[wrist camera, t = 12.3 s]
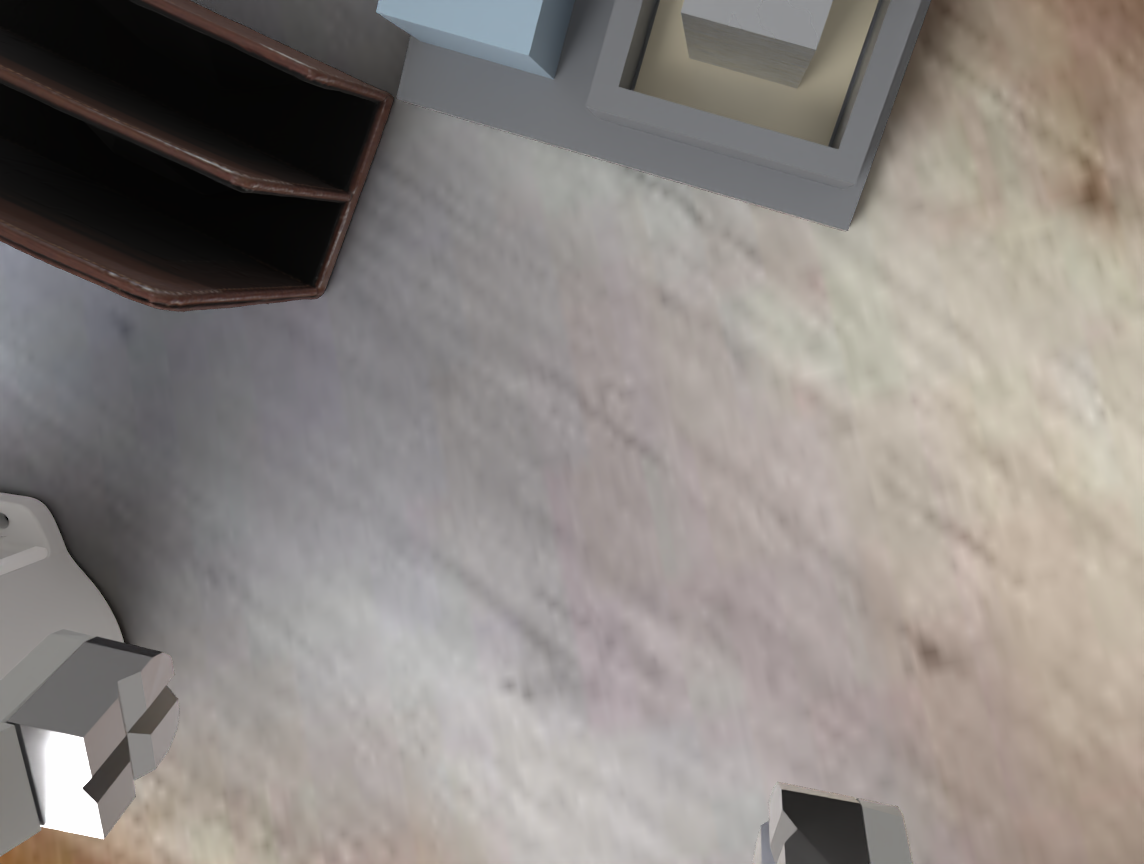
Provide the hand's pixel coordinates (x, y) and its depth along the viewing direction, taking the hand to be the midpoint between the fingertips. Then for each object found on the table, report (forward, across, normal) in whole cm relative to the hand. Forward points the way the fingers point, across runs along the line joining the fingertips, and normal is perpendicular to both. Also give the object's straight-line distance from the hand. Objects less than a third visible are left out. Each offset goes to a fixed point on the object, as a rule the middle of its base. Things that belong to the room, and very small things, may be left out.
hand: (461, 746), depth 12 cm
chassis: (+33, +1, -8) cm, 34 cm away
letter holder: (+32, +23, -1) cm, 39 cm away
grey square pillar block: (+31, -3, -8) cm, 32 cm away
